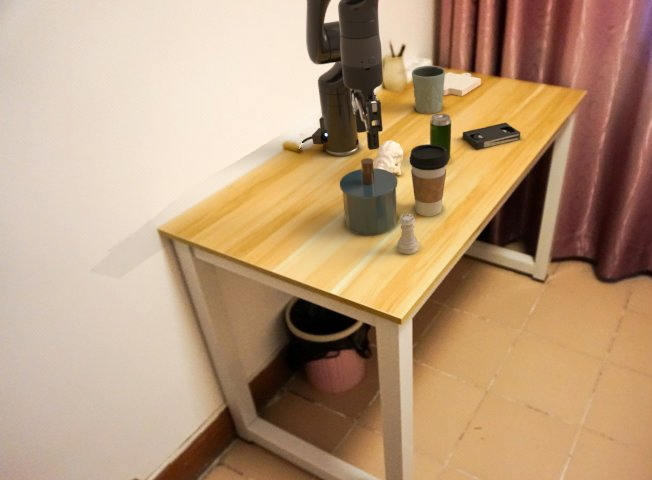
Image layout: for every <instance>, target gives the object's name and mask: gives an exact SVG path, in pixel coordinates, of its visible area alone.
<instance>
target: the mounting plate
mask: <svg viewBox="0 0 652 480" xmlns="http://www.w3.org/2000/svg"><path fill="white" fill-rule="evenodd" d="M480 85H482V78H480V77H475V76H472V74H471V73H468V72H463V73H455V72H450V71H448V72H446V73H445V79H444V88H443V96H448V95H455V96H458V97H463V96H465V95H467V94H468V93H470V92H472V91H473V90H474V89H476V88H478V87H479V86H480Z"/></svg>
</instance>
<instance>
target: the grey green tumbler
mask: <svg viewBox="0 0 652 480" xmlns="http://www.w3.org/2000/svg"><path fill="white" fill-rule="evenodd" d="M445 74H446V70H445V69H444V67H441V66H438V65H421V66H417V67H414V68H413V69H412V71H411V78H412V79H411V80H412V87H413V98H414V108H415V111H416V112H418V113H420V114H425V115H432V114H433V115H435V114H438V113H440V112H441V111H442V110H443V102H444V95H443V88H444V79H445Z"/></svg>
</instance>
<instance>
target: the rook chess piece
mask: <svg viewBox="0 0 652 480" xmlns="http://www.w3.org/2000/svg"><path fill="white" fill-rule="evenodd" d="M399 223H400V229H401V233H400V234H401V235H400V237H399V239H398V240H397V250H398V251H399V252H400V253H401V254H404V255H412V254H414V253H416V252H417V251H418V250H419V248H420V247H419V240H418V239H417V237H416V235H415V225H414V224H415V223H416V219H415V217H414V215H413V214H412V213H411V214H410V213H406V214H405V213H403V214H402V215H401V216H400V219H399Z"/></svg>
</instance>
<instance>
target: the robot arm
mask: <svg viewBox="0 0 652 480" xmlns="http://www.w3.org/2000/svg"><path fill="white" fill-rule="evenodd" d="M331 1H332V0H306V15H305V16H306V17H305V44H306V45H305V46H306V51H307V55H308V58H309V60H310V62H311V63H312V64H314V65H319V66H320V65H322V66H323V65H327V64H333V65H332V67H330V69H328V70H326V72H324V73H322V74H321V75H320V76H318V79H317V88H318V96H319V103H320V110H321V111H320V112H321V113H320V114H321V117H320V118H319V119H318V120H319V128H317V129H316V130H315V131H314V132H313V133H312V134H311V135H310V136H308V137H305V138H304V139H303V140H302V141H301V142H302V143H306V142H308V141H310V140H312V145H317V146H322V152H323V153H324V152H325V153H327V154H329V155H331V156H335V157H346V156H350V155H353V154H355V153H357V152H358V151H359V149H360V139H359V134H360V133H361V134H362V133H366V142H367V145H366V146H367V148H368V150H369V151H373V150H378V148H379V147H380V136H379V135H380V133H381V132H383V129H384V128H383V116H382V101H381V100H380V99H378V97H377V94H375V92H374V91H375V89H377V88H379V87H381V86H382V84H383V82H384V74H383V54H382V53H383V52H382V43H381V36H380V25H379V23H380V22H379V21H380V20H379V1H380V0H339V2H338V4H337V13H338V15H337V16H338V20H335V21H330V22H325V19H326V14H327V11H328V8H329V6H330V3H331ZM373 122H374V124H373ZM297 150H298V151H301V150H302V147H301V148H300V149H298V148H297Z"/></svg>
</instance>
